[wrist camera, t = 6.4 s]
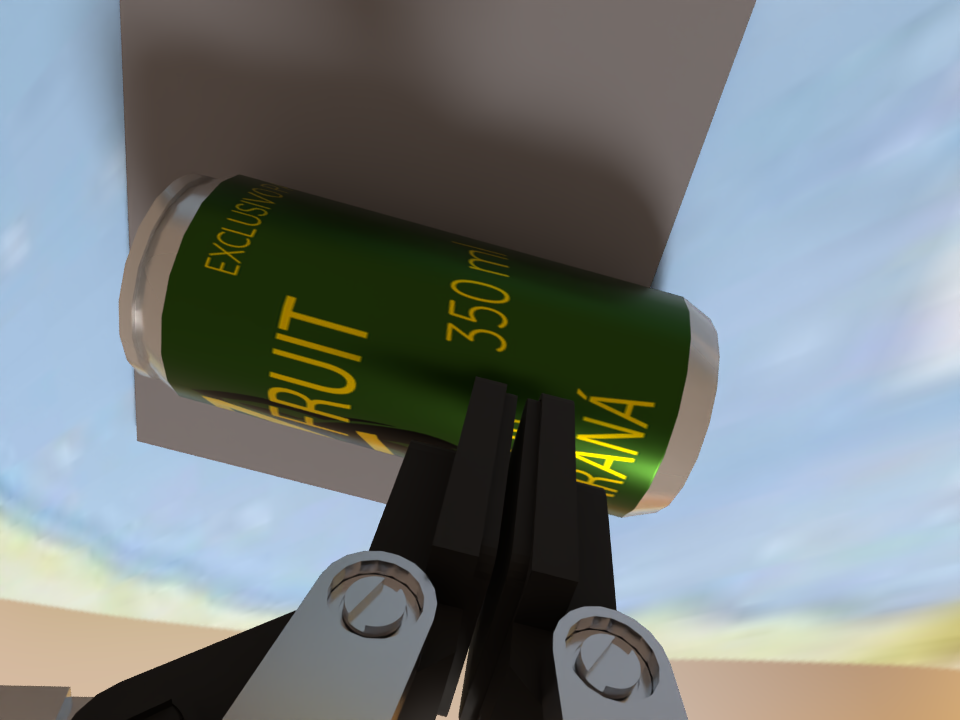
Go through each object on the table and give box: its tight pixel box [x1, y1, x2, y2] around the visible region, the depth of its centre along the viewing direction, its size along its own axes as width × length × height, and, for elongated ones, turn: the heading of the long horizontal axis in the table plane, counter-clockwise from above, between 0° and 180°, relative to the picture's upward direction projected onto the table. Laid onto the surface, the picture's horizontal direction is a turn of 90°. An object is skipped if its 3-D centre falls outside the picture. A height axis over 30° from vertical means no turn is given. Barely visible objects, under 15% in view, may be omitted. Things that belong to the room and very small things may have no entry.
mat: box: [120, 0, 756, 504], centre depth 18 cm, size 14×16×1 cm
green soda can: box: [119, 173, 720, 518], centre depth 15 cm, size 5×5×12 cm
